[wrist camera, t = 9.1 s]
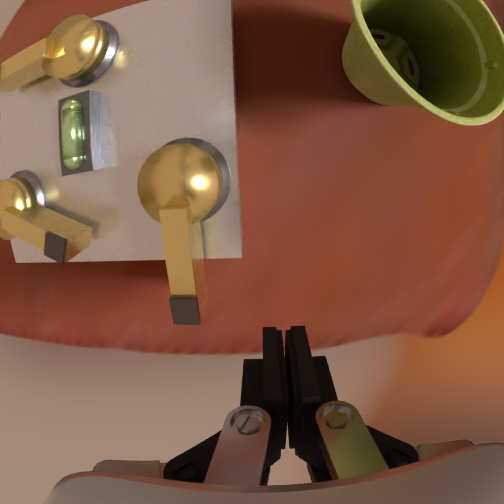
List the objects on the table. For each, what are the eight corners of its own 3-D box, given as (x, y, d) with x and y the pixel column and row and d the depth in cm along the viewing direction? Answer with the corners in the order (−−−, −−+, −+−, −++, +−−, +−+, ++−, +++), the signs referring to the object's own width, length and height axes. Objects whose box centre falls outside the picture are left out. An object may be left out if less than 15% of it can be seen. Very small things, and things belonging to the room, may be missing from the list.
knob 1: (2, 221, 17) (-24, 233, 14) (7, 170, 16) (-22, 177, 13) (86, 264, 18) (62, 285, 15) (96, 206, 17) (68, 219, 14)
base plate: (15, 66, 15) (-16, 61, 11) (233, 0, 14) (226, -31, 10) (28, 254, 21) (-1, 273, 17) (243, 247, 20) (239, 272, 16)
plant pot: (332, 135, 18) (385, 127, 10) (301, 11, 15) (325, -58, 6) (444, 127, 17) (526, 128, 9) (416, 15, 14) (478, -25, 6)
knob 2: (147, 148, 16) (123, 150, 13) (220, 141, 16) (211, 139, 12) (166, 297, 19) (150, 324, 16) (231, 297, 19) (225, 326, 16)
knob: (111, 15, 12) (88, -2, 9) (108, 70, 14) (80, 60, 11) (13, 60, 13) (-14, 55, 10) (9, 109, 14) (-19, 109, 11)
